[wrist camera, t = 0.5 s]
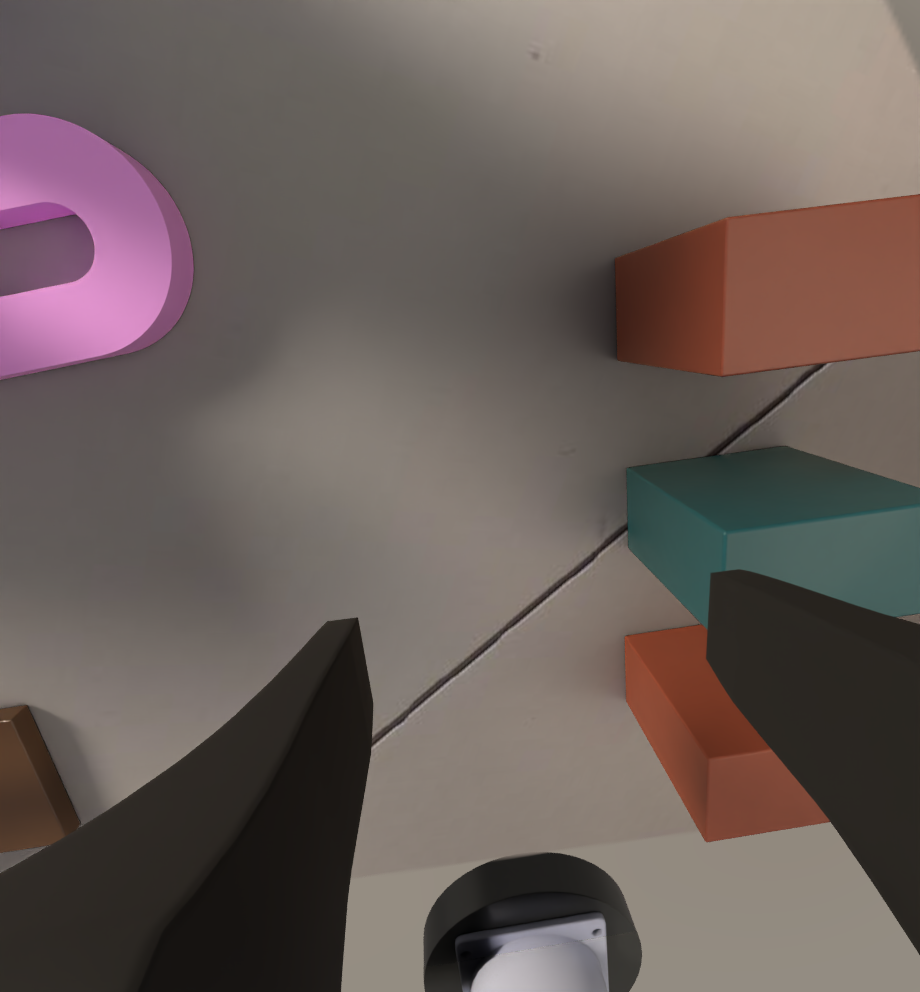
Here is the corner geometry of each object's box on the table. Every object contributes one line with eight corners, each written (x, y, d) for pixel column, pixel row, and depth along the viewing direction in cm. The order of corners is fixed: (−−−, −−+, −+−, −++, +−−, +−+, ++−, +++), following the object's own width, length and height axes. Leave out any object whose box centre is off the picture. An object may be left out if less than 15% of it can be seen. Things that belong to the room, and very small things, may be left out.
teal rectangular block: (780, 527, 19) (938, 612, 13) (627, 548, 19) (719, 645, 13) (787, 445, 18) (959, 498, 12) (625, 467, 18) (724, 532, 12)
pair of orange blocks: (774, 678, 21) (908, 810, 15) (625, 701, 21) (705, 843, 15) (808, 234, 16) (1027, 181, 10) (613, 258, 16) (726, 217, 10)
